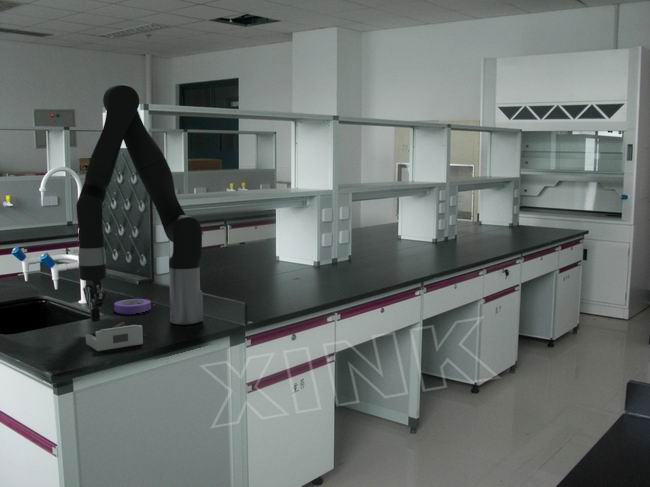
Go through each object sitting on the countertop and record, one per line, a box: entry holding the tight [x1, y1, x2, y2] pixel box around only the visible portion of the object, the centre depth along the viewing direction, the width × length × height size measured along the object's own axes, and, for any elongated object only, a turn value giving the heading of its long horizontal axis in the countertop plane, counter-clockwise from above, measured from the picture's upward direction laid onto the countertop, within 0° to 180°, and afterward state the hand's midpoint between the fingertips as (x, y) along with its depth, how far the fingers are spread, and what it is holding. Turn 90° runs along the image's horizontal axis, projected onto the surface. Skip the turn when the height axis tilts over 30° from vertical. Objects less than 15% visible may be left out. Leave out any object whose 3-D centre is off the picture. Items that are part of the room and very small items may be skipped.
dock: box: [85, 324, 144, 352], centre depth 185 cm, size 12×10×5 cm
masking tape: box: [113, 298, 152, 315], centre depth 224 cm, size 12×12×4 cm
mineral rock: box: [111, 321, 127, 328], centre depth 191 cm, size 11×4×8 cm
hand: (95, 321), depth 198 cm, fingers closed
